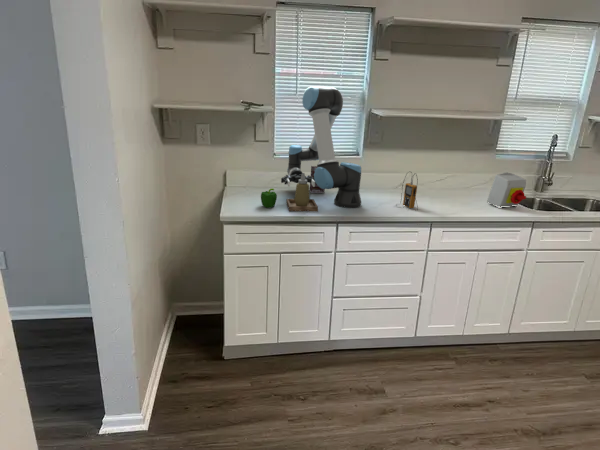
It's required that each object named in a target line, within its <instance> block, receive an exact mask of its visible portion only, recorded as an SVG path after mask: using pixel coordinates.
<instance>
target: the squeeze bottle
mask: <svg viewBox="0 0 600 450" xmlns="http://www.w3.org/2000/svg"><path fill="white" fill-rule="evenodd" d="M305 176H306V175H305V172H302V176H301V179H299V183H296V186H295V194H294V199H295V203H296V206H307V205H308V203H309V199H310V184H309V183H308V182H307V180H306V179H305Z"/></svg>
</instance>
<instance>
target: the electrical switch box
mask: <svg viewBox="0 0 600 450" xmlns="http://www.w3.org/2000/svg"><path fill="white" fill-rule="evenodd" d="M526 187H527V179H525V178H523V177H521V176H519V175H517V174H515V173H511V172H507V171H506V172H502V173H498V174H495V176H494V179H493V182H492V184H491V189H490V191H489V194H488V197H487V200H486V203H488V202H489V203H491V204H494V205H497V206H500V207H501V206H512V205H517V206H518V205H519V204H520V203H521V201H523V200H526V199H527V196H526V195H525V189H526ZM489 203H488V204H489ZM491 204H490V205H491Z"/></svg>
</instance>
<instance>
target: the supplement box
mask: <svg viewBox="0 0 600 450" xmlns="http://www.w3.org/2000/svg"><path fill="white" fill-rule="evenodd" d="M316 168H317V165H313V166H312V165H311V167H310V176H311V177H314V173H315V169H316ZM325 190H326V189H322V188H320V187H319V186H318V185H317V184H315V187H313V186H312V184H311V183H309V193H311V194H325V192H326V191H325Z"/></svg>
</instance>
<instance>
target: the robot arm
mask: <svg viewBox="0 0 600 450" xmlns="http://www.w3.org/2000/svg"><path fill="white" fill-rule="evenodd" d="M301 101H302V107H303V108H304V109H305V110H306V111H308V115H309V116H310V117H311V118H312V122H313V123H312V125H313V130H314V131H313V132H314V134H313V137H312V139H311V142H310V145H309V147H306V148H303V146H302V145H299V144H292V145H290V146H289V148H288V164H287V165H288V166H287V171H286V172H287V174H285V176H283V177H281V178H280V180H281V181H280V182H281V184H282V183H284V185H287V187H290V184H291V183H295V184H298V183H299V179H301V176H302V173H303V171H302V170H301V169H302V168H301V167H302V162H308V161H318V163H317V164H316V166H317V168H316V169H315V173H314V177H311V175H307V176H306V175H305V179H306V180H307V183H308V184H310V183H311V184H312V186H313V187H315V184H317V185H318V186H319V187H320V188H322V189H325V190H331V189H337V192H336V195H335V197H334V200H333V204H334V205H335V206H337V207H341V208H346V209H356V208H360V207H362V198H361V194H360V189H361V178H362V167H361V165H360V164H356V163H351V162H346V161H342V162H340V163H339V160H337V159H336V156H335V149H334V143H333V135H332V127H333V126H334V124H335V121H336V119H337V117H338V116H340V114H341V113H342V110H343V105H344V98H343V96H342V93H341V92H340V91H339V90H338V88H336V87H332V86H329V87H327V86H317V85H316V86H315V85H314V86H309V87H307V88H306V89H305V90H304V93H303V95H302V100H301Z"/></svg>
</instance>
